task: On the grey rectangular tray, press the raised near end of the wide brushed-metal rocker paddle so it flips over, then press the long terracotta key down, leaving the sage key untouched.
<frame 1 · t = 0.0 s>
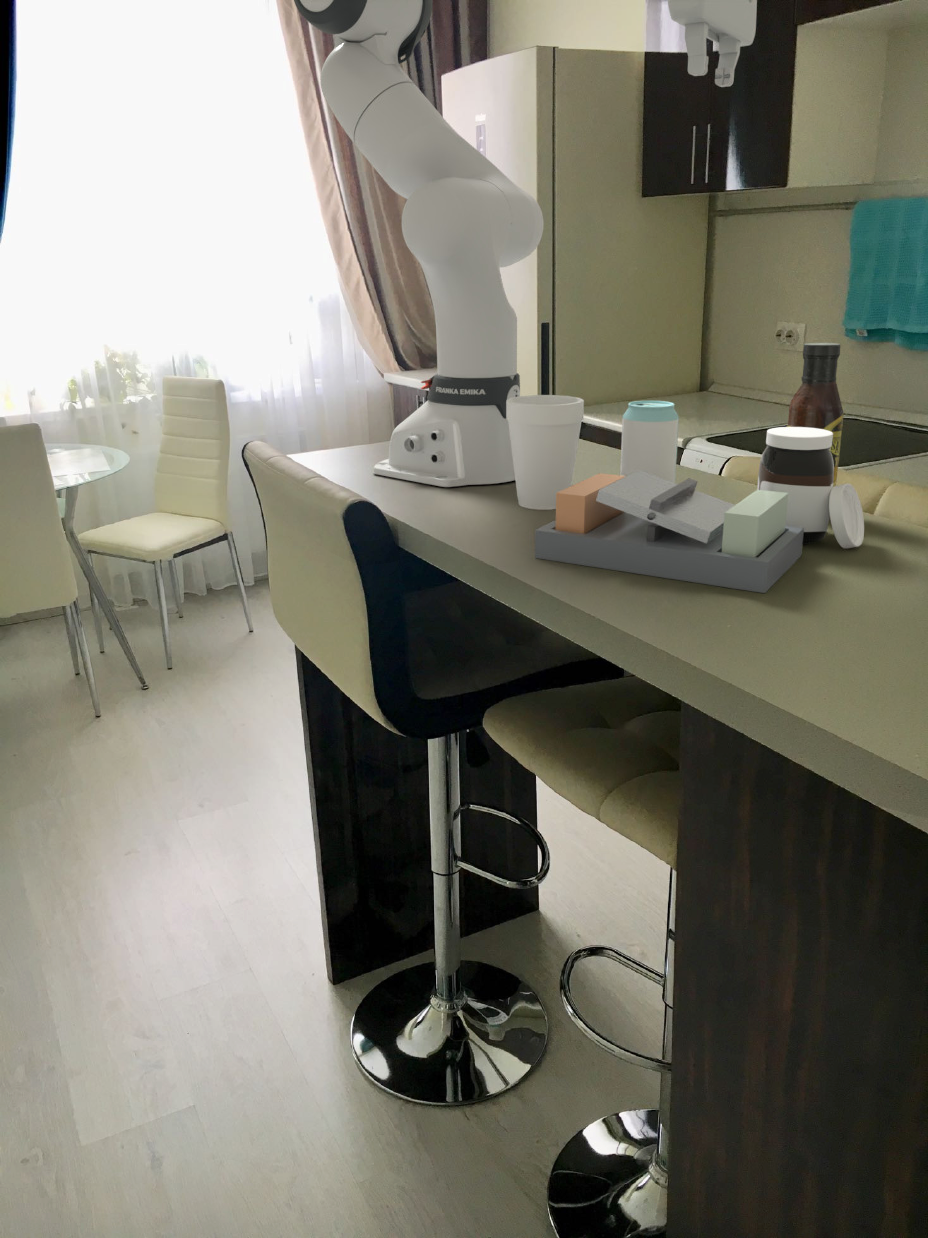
hand: (711, 80, 113), 48 cm above the countertop, fingers open, 8 cm apart
can: (646, 497, 131), on the countertop
rocker: (672, 499, 103), point 6 cm above the countertop, hinge at 14.0°
spread jar: (806, 541, 111), on the countertop
foam cup: (543, 505, 128), on the countertop
button sage: (755, 522, 99), point 5 cm above the countertop, slide at 0.0 cm
button terracotta: (591, 502, 108), point 5 cm above the countertop, slide at 0.0 cm
grey rectangular tray: (667, 556, 105), on the countertop
sauce bottle: (805, 513, 123), on the countertop
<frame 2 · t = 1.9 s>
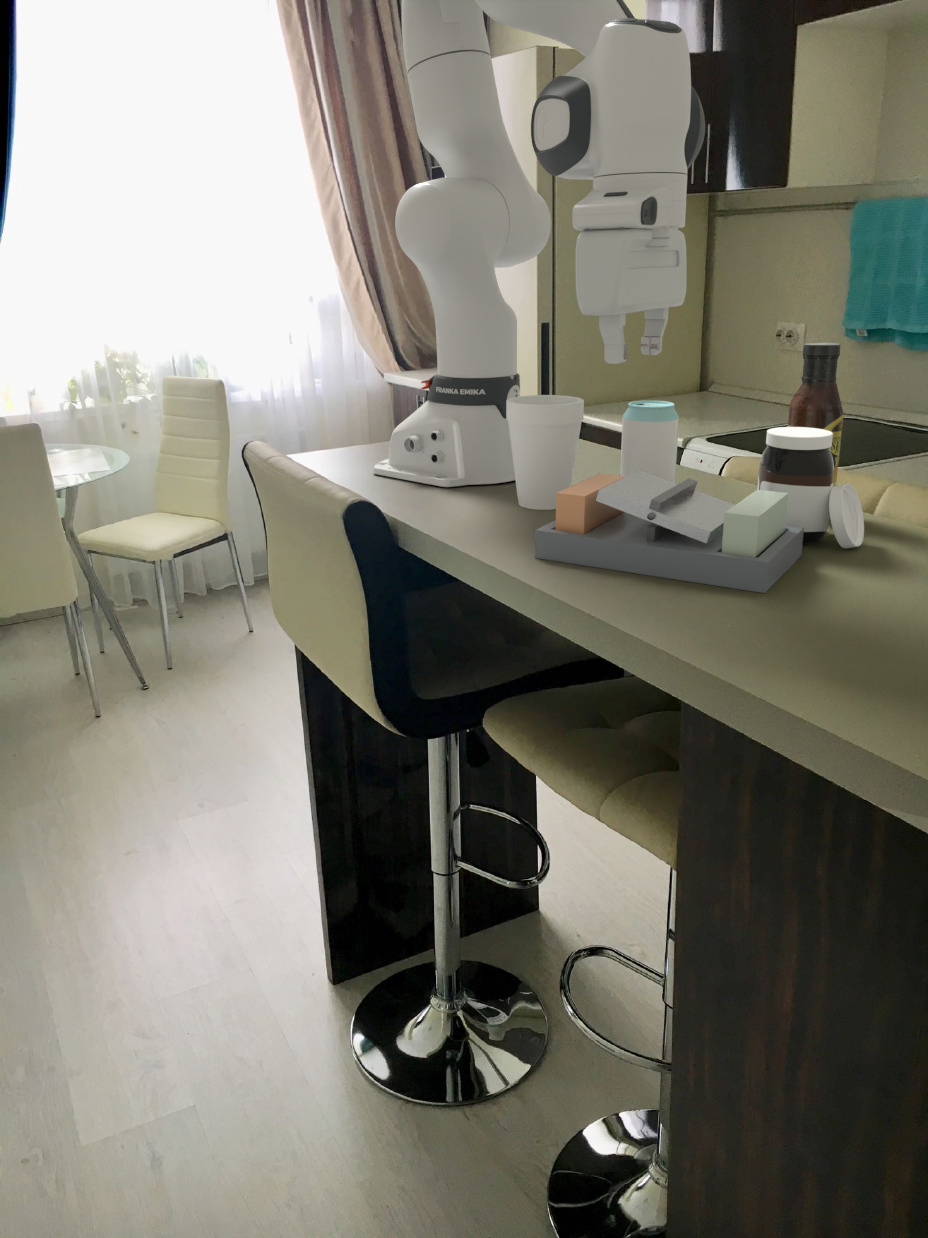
hand: (634, 358, 101), 20 cm above the countertop, fingers open, 8 cm apart
nothing on the countertop moved.
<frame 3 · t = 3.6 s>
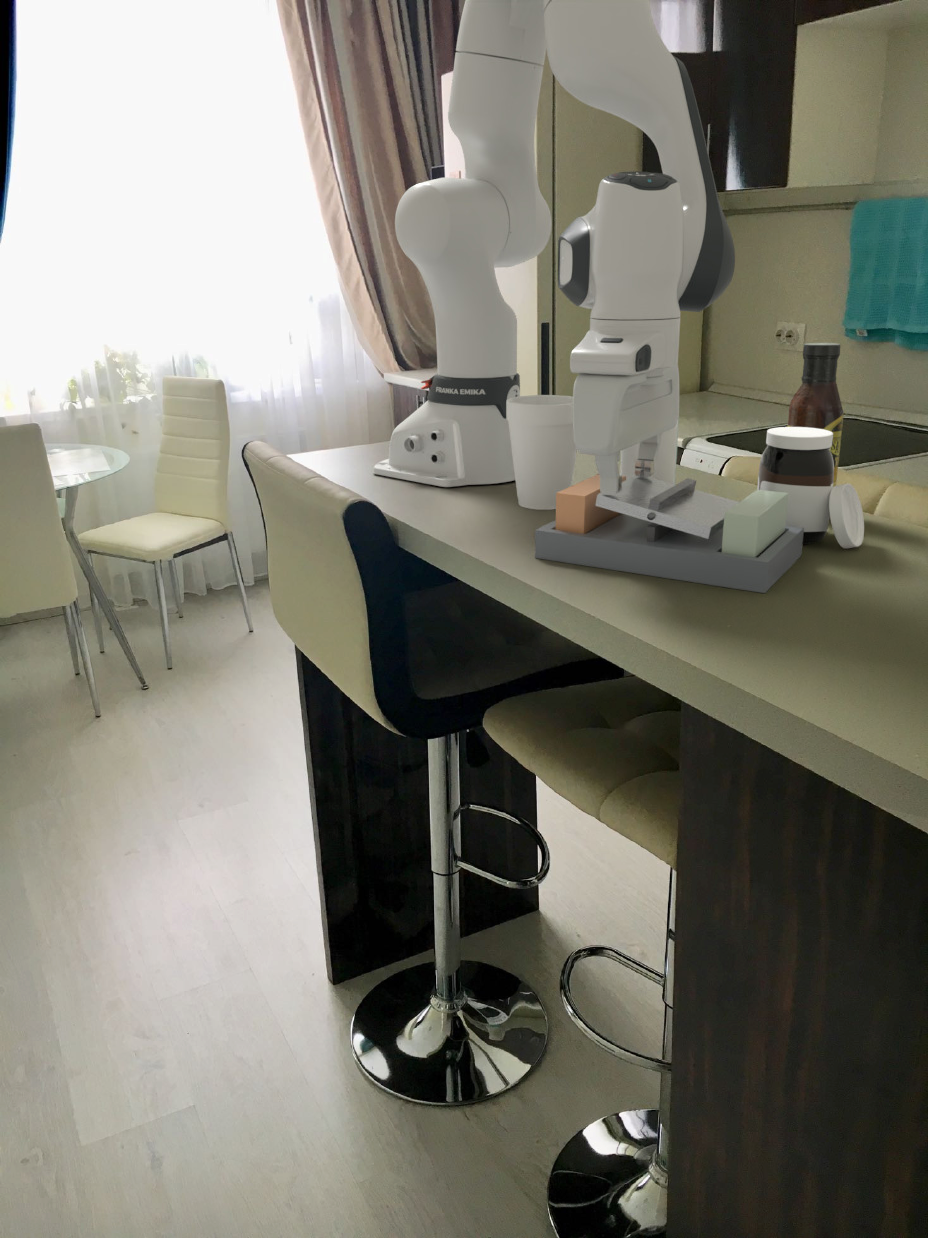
hand: (628, 484, 105), 7 cm above the countertop, fingers open, 8 cm apart
rocker: (672, 499, 103), point 6 cm above the countertop, hinge at 9.1°, touching gripper
everything else where it was.
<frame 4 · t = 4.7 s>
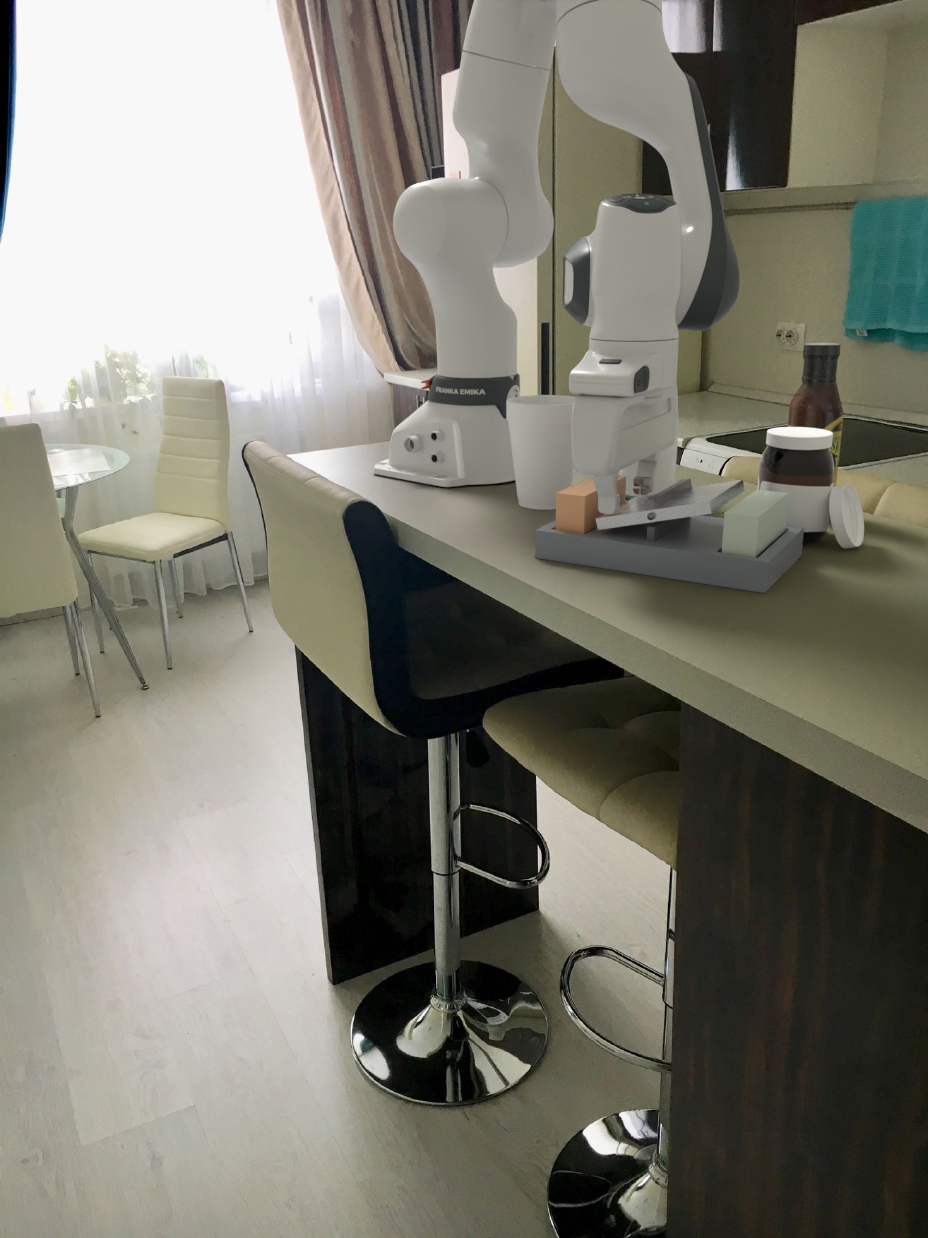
hand: (626, 502, 106), 5 cm above the countertop, fingers open, 8 cm apart
rocker: (670, 499, 103), point 6 cm above the countertop, hinge at -14.9°
everything else where it was.
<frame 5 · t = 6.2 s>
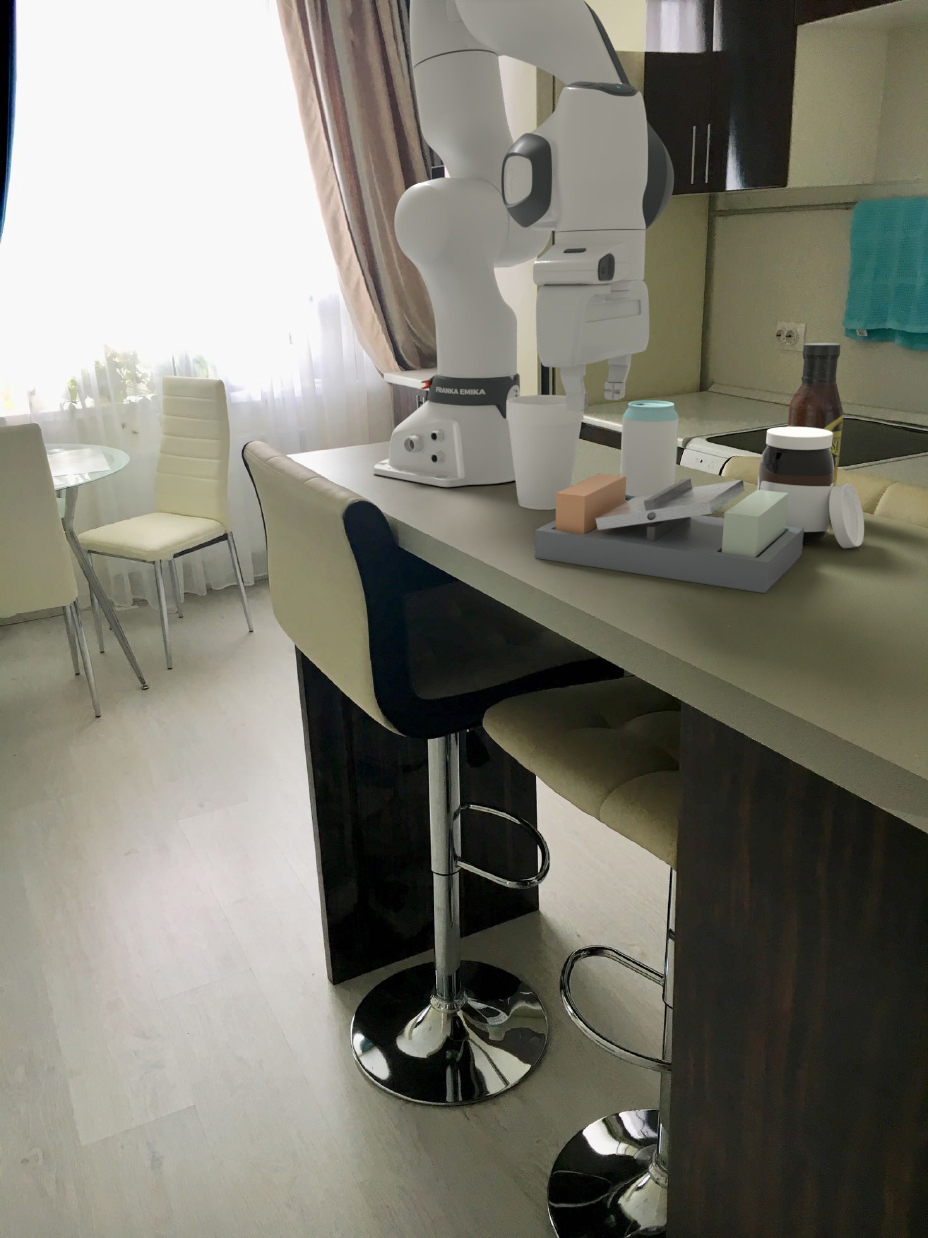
hand: (596, 404, 104), 15 cm above the countertop, fingers open, 8 cm apart
nothing on the countertop moved.
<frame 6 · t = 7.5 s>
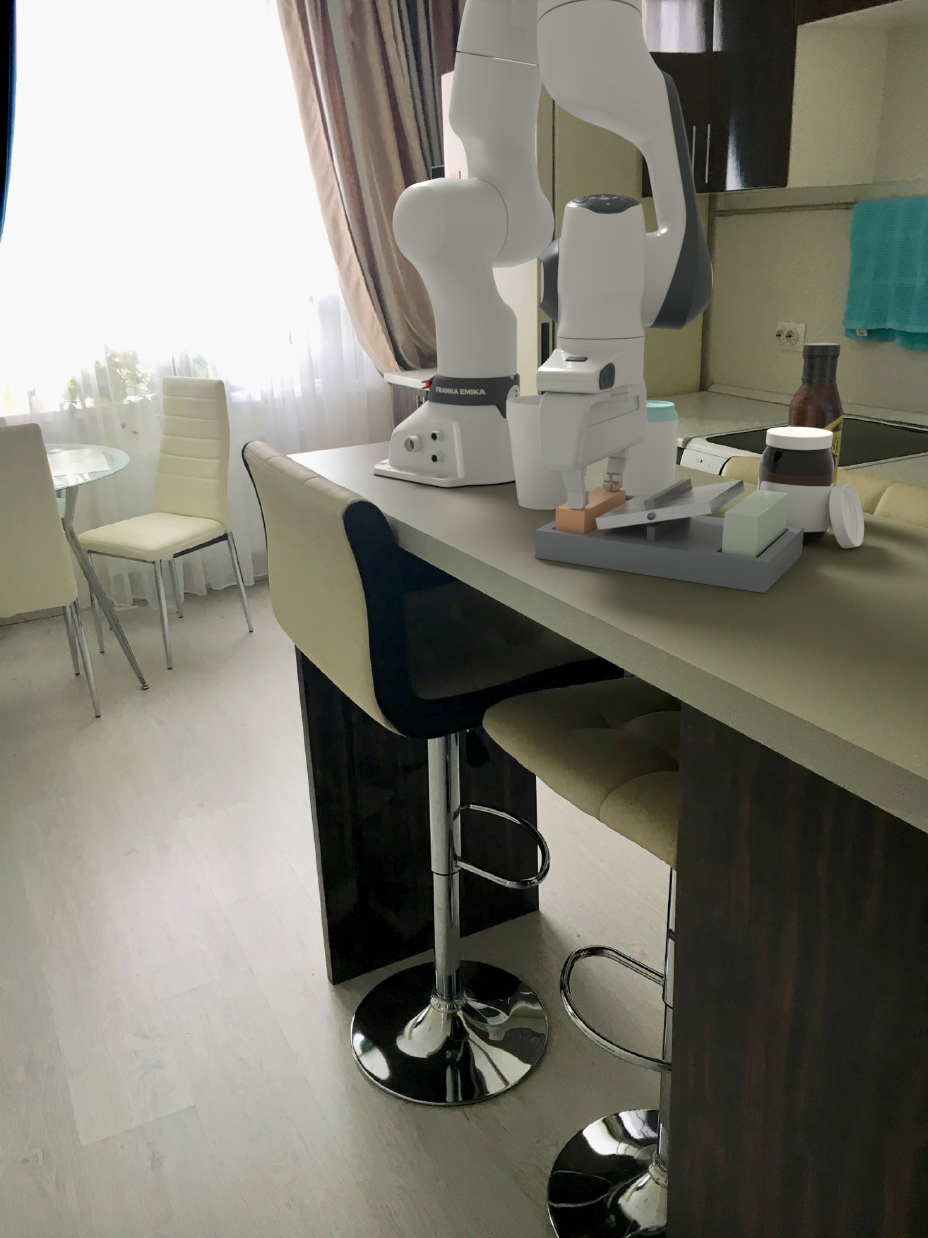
hand: (596, 498, 108), 5 cm above the countertop, fingers open, 8 cm apart
button terracotta: (591, 516, 109), point 3 cm above the countertop, slide at 1.6 cm, touching gripper
everything else where it was.
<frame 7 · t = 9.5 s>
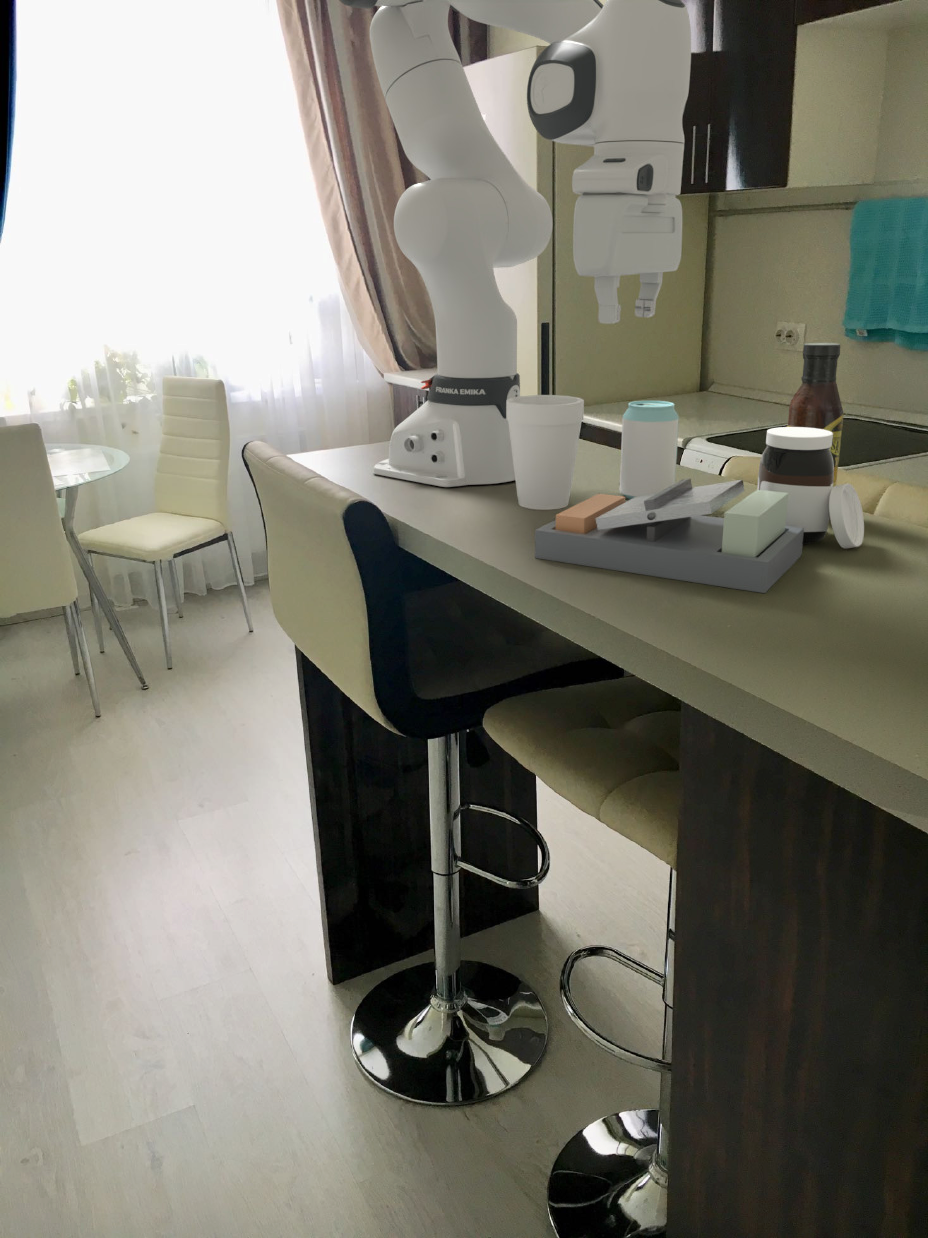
hand: (627, 319, 106), 23 cm above the countertop, fingers open, 8 cm apart
button terracotta: (591, 523, 109), point 2 cm above the countertop, slide at 2.3 cm
everything else where it was.
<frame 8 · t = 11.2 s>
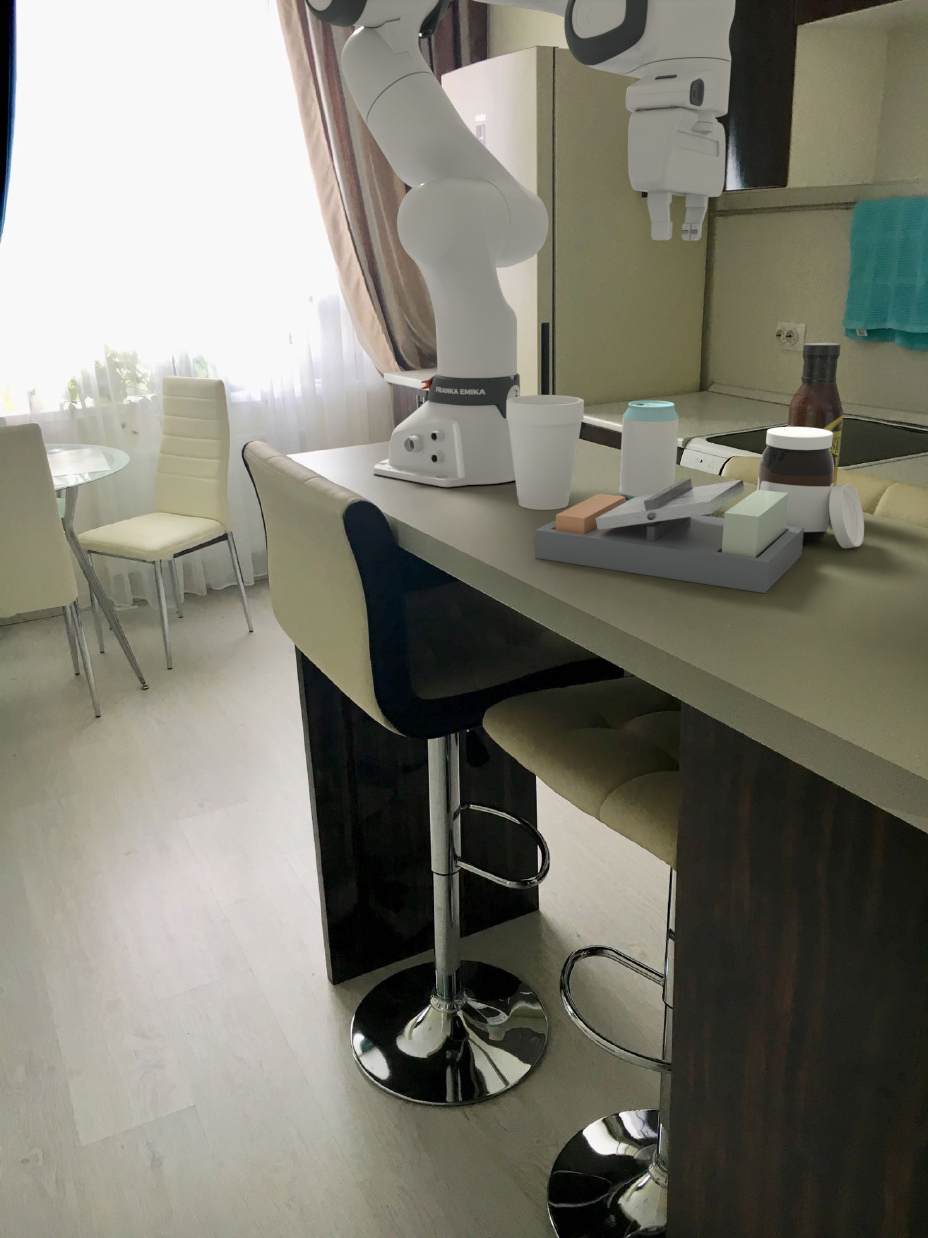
hand: (676, 240, 109), 31 cm above the countertop, fingers open, 8 cm apart
nothing on the countertop moved.
at the end: rocker at -15° (first picture: +14°); button terracotta slide at 2.3 cm; button sage slide at 0.0 cm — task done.
